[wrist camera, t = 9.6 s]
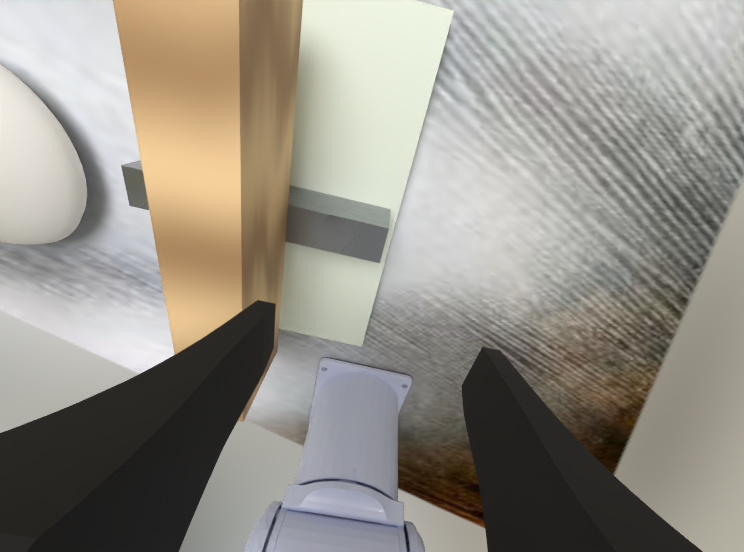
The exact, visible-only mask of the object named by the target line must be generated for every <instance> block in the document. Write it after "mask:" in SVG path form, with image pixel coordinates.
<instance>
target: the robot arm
mask: <svg viewBox="0 0 744 552" xmlns="http://www.w3.org/2000/svg"><path fill="white" fill-rule="evenodd" d="M275 311H276V304H275V303H270V302H265V301H260V300H257V301H255V302H254V303H252V304H251V305H250V306H248V307H247V308H245V309H244V310H243V311H241V312H240V313H238V314H237V315H236V316H234V317H233V318H231V319H230V320H228V321H227V322H226V323H224V324H223V325H221V326H220V327H218V328H217V329H215V330H214V331H212V332H211V333H209V334H208V335H206V336H205V337H203V338H202V339H200V340H198V341H197V342H195V343H194V344H192V345H190V346H189V347H187V348H185V349H184V350H182V351H180V352H179V353H177V354H175V355H174V356H172V357H170V358H169V359H167V360H165V361H163V362H161V363H160V364H158V365H156V366H154V367H152V368H150V369H149V370H147V371H145V372H143V373H141V374H139V375H137V376H135V377H133V378H131V379H129V380H127V381H125V382H123V383H121V384H118V385H116V386H114V387H112V388H110V389H107V390H105V391H103V392H101V393H98V394H96V395H94V396H92V397H90V398H88V399H85V400H83V401H81V402H79V403H76V404H74V405H72V406H69V407H67V408H64V409H62V410H60V411H57V412H54V413H52V414H49V415H47V416H44V417H42V418H39V419H37V420H34V421H32V422H29V423H26V424H24V425H21V426H19V427H16V428H13V429H11V430H8V431H5V432H2V433H0V552H179V549H180V547H181V544H182V542H183V540H184V537H185V535H186V532H187V530H188V527H189V525H190V522H191V520H192V518H193V515H194V513H195V511H196V508H197V506H198V504H199V501H200V499H201V497H202V494H203V492H204V490H205V487H206V485H207V483H208V480H209V478H210V476H211V474H212V471H213V469H214V467H215V464H216V462H217V460H218V458H219V456H220V453H221V451H222V449H223V447H224V445H225V443H226V441H227V439H228V437H229V435H230V434H231V432H232V430H233V428H234V426H235V425H236V423H237V421H238V419H239V417H240V416H241V414H242V412H243V410H244V408H245V407H246V405H247V403H248V401H249V399H250V397H251V396H252V394H253V392H254V390H255V388H256V387H257V385H258V383H259V381H260V379H261V377H262V375H263V373H264V371H265V368H266V366H267V364H268V361H269V359H270V356H271V354H272V351H273V349H274V334H275ZM324 367H326V368H324ZM403 384H406V385H403ZM411 384H412V378H411V377H410V376H408V375H404V374H399V373H394V372H390V371H385V370H380V369H376V368H371V367H367V366H362V365H357V364H353V363H348V362H343V361H339V360H334V359H329V358H322V359H321V360H320V363H319V368H318V374H317V379H316V385H315V391H314V396H313V402H312V407H311V413H310V418H309V429H308V433H307V436H306V440H305V444H304V447H303V451H302V454H301V458H300V462H299V465H298V469H297V473H296V476H295V480H294V484H293V485H288V486H287V489H286V493H285V496H284V500H283V502H278V501H274V502H273V503H271V504H270V505H269V507H268V508H266V509H265V510H264V511H263V512H262V513H261V514H260V515H259V517H258V519H257V520H256V523H255V525H254V527H253V529H252V532H251V534H250V536H249V539H248V542H247V544H246V547H245V550H244V552H425V548H424V544H423V541H422V538H421V537H420V535H419V533H418V532H417V530H416V527H415V526H414V524H413V523H411V522H408V521H404V503H403V502H399V501H398V414H399V412H400V410H401V407H402V405H403V403H404V400H405V398H406V396H407V393H408V391H409V389H410V387H411ZM462 398H463V409H464V417H465V422H466V427H467V432H468V436H469V441H470V446H471V450H472V455H473V459H474V464H475V468H476V473H477V478H478V482H479V487H480V493H481V498H482V505H483V513H484V521H485V529H486V537H487V546H488V552H702V551H701V550H700V549H699V548H698V547H696V546H695V545H694V544H692V543H691V542H690V541H689V540H688V539H686V538H685V537H684V536H683V535H681V534H680V533H679V532H678V531H677V530H675V529H674V528H673V527H671V525H669V524H668V523H667V522H666V521H665V520H663V519H662V518H661V517H660V516H659V515H657V514H656V513H655V512H654V511H653V510H652V509H651V508H649V507H648V506H647V505H646V504H645V503H644V502H643V501H641V500H640V499H639V498H638V497H637V496H636V495H635V494H633V493H632V492H631V491H630V490H629V489H628V488H627V487H626V486H625V485H623V484H622V483H621V482H620V481H619V480H618V479H617V478H616V477H615V476H614V475H613V474H612V473H611V472H610V471H609V470H608V469H607V468H605V467H604V466H603V465H602V464H601V463H600V462H599V461H598V460H597V459H596V458H595V457H594V456H593V455H592V454H591V453H590V452H589V451H588V450H587V449H586V448H585V447H584V446H583V445H582V444H581V443H580V442H579V441H578V440H577V439H576V438H575V436H574V435H573V434H572V433H571V432H570V431H569V430H568V429H567V428H566V427H565V426H564V425H563V424H562V422H561V421H560V420H559V419H558V418H557V417H556V416H555V415H554V414H553V412H552V411H551V410H550V409H549V408H548V407H547V406H546V404H545V403H544V402H543V401H542V400H541V399H540V397H539V396H538V395H537V394H536V393H535V392H534V390H533V389H532V388H531V387H530V386H529V384H528V383H527V382H526V381H525V380H524V378H523V377H522V376H521V375H520V374H519V372H518V371H517V370H516V369H515V367H514V366H513V365H512V364H511V363H510V362H509V360H508V359H507V358H506V357H505V356H504V355H503V354H502V352H501V351H500V350H495V349H490V348H485V347H482V349H481V351H480V353H479V355H478V356H477V358H476V360H475V362H474V364H473V366H472V368H471V369H470V371H469V373H468V375H467V377H466V379H465V381H464V382H463V384H462Z"/></svg>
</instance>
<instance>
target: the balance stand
mask: <svg viewBox="0 0 744 552" xmlns="http://www.w3.org/2000/svg"><path fill="white" fill-rule="evenodd" d="M453 13H454V11H453V10H449V9H445V8H442V7H438V6H434V5H430V4H427V3H423V2H419V1H416V0H303V8H302V22H301V35H300V49H299V63H298V76H297V90H296V103H295V117H294V130H293V144H292V158H291V171H290V185H289V198H288V212H287V225H286V239H285V253H284V266H283V280H282V293H281V307H280V321H279V329H282V330H286V331H291V332H296V333H300V334H305V335H309V336H314V337H319V338H323V339H328V340H332V341H337V342H341V343H346V344H351V345H355V346H360V347H362V344H363V340H364V337H365V333H366V329H367V326H368V322H369V318H370V315H371V311H372V307H373V304H374V300H375V297H376V293H377V289H378V286H379V282H380V278H381V275H382V271H383V267H384V264H385V260H386V256H387V253H388V249H389V246H390V242H391V238H392V235H393V231H394V227H395V224H396V220H397V216H398V213H399V209H400V205H401V202H402V198H403V195H404V191H405V187H406V184H407V180H408V176H409V173H410V169H411V165H412V162H413V158H414V155H415V151H416V147H417V144H418V140H419V136H420V133H421V129H422V125H423V122H424V118H425V114H426V111H427V107H428V104H429V100H430V96H431V93H432V89H433V85H434V82H435V78H436V74H437V71H438V67H439V63H440V60H441V56H442V53H443V49H444V45H445V42H446V38H447V34H448V31H449V27H450V23H451V20H452V16H453ZM121 166H122V171H123V176H124V181H125V185H126V190H127V195H128V200H129V205H130V206H133V207H138V208H142V209H146V210H149V204H148V198H147V192H146V187H145V181H144V175H143V170H142V164H141V161H137V162H133V163H129V164H125V165H121Z"/></svg>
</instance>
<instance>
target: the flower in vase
mask: <svg viewBox="0 0 744 552" xmlns="http://www.w3.org/2000/svg"><path fill="white" fill-rule="evenodd" d="M86 202H87V185H86V178H85V174H84V171H83V167H82V164H81V162H80V159H79V157H78V154H77V152H76V150H75V148H74V146H73V144H72V142H71V140H70V138H69V137H68V135H67V134H66V132H65V130H64V129H63V127H62V126H61V124H60V123H59V122H58V120H57V119H56V117H55V116H54V115H53V113H52V112H51V111H50V110H49V109H48V108H47V106H46V105H45V104H44V103H43V102H42V101H41V99H40V98H39V97H38V96H37V95H36V94H35V93H34V92H33V91H32V90H31V89H30V88H29V87H28V86H27V85H26V84H24V83H23V82H22V81H21V80H20V79H19V78H18V77H16V76H15V75H14V74H13V73H12V72H10V71H9V70H8V69H6V68H5V67H3V66H2V65H1V64H0V242H5V243H10V244H18V245H31V244H46V243H52V242H56V241H59V240H62V239H64V238H65V237H67V236H69V235H70V234H71V233H72V232H73V231H74V230H75V229H76V228H77V226H78V225H79V223H80V221H81V218H82V216H83V213H84V211H85V208H86Z"/></svg>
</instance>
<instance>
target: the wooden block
mask: <svg viewBox="0 0 744 552" xmlns="http://www.w3.org/2000/svg"><path fill="white" fill-rule="evenodd" d="M113 4H114V10H115V15H116V21H117V27H118V33H119V38H120V44H121V50H122V55H123V61H124V67H125V72H126V78H127V84H128V90H129V95H130V101H131V107H132V112H133V118H134V124H135V130H136V135H137V141H138V147H139V152H140V158H141V164H142V170H143V175H144V181H145V187H146V192H147V198H148V204H149V210H150V215H151V221H152V227H153V232H154V238H155V244H156V250H157V255H158V261H159V267H160V272H161V278H162V284H163V290H164V295H165V301H166V307H167V312H168V318H169V324H170V330H171V335H172V341H173V347H174V352H175V354H177V353H179V352H180V351H182V350H184V349H185V348H187V347H189V346H190V345H192V344H194V343H195V342H197V341H198V340H200V339H202V338H203V337H205V336H206V335H208V334H209V333H211V332H212V331H214V330H215V329H217V328H218V327H220V326H221V325H223V324H224V323H226V322H227V321H228V320H230V319H231V318H233V317H234V316H236V315H237V314H238V313H240V312H241V311H243V310H244V309H245V308H247V307H248V306H250V305H251V304H252V303H254V302H255V301H257V300H260V301H265V302H270V303H275V304H276V311H275V334H274V349H273V351H272V354H271V356H270V359H269V361H268V364H267V366H266V368H265V371H264V373H263V375H262V377H261V379H260V381H259V383H258V385H257V387H256V388H255V390H254V392H253V394H252V396H251V397H250V399H249V401H248V403H247V405H246V407H245V408H244V410H243V412H242V414H241V416H240V417H239V419H238V421H244V419H245V417H246V415H247V413H248V411H249V409H250V406H251V404H252V402H253V400H254V398H255V396H256V394H257V392H258V390H259V388H260V386H261V384H262V382H263V380H264V377H265V375H266V373H267V371H268V369H269V367H270V365H271V363H272V361H273V359H274V357H275V355H276V353H277V348H278V334H279V321H280V307H281V293H282V280H283V266H284V253H285V239H286V225H287V212H288V198H289V185H290V171H291V158H292V144H293V130H294V117H295V103H296V90H297V76H298V63H299V49H300V35H301V22H302V8H303V0H113Z"/></svg>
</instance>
